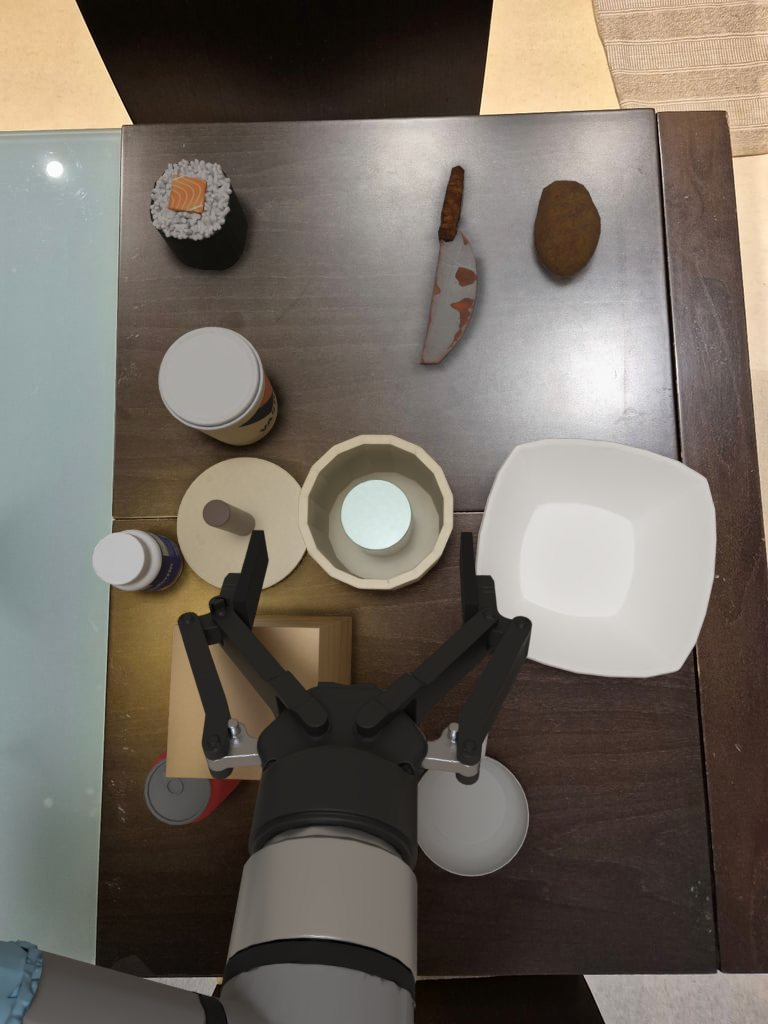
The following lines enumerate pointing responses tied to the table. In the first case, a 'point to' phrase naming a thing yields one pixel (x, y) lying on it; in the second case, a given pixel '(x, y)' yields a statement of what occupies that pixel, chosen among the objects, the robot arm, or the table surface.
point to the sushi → (199, 215)
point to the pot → (369, 462)
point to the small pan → (472, 818)
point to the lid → (240, 519)
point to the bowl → (600, 554)
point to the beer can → (183, 794)
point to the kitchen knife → (451, 278)
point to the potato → (566, 228)
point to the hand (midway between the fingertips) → (362, 545)
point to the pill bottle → (137, 561)
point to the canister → (377, 517)
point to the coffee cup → (218, 386)
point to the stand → (296, 647)
